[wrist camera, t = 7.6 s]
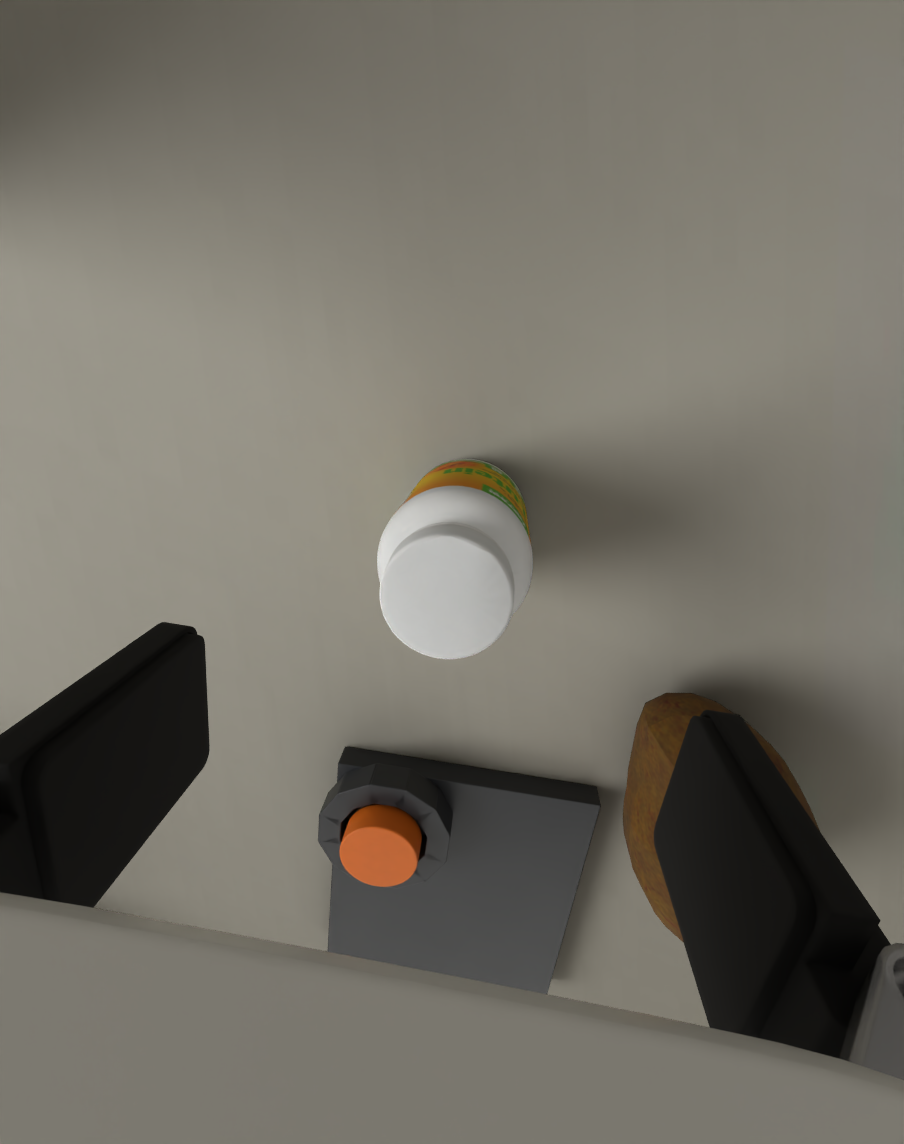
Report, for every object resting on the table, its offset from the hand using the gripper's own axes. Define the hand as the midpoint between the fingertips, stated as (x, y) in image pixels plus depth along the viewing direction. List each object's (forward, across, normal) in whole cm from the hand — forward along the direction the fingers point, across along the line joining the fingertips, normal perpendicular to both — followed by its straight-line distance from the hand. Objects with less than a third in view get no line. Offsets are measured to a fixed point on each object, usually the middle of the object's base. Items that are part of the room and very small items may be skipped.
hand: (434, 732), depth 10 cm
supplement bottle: (+16, +1, 0) cm, 16 cm away
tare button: (+13, +3, +17) cm, 21 cm away
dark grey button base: (+16, -1, +22) cm, 27 cm away
